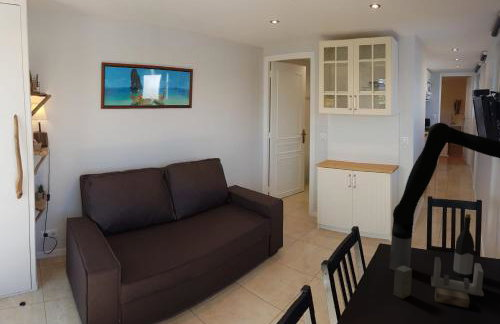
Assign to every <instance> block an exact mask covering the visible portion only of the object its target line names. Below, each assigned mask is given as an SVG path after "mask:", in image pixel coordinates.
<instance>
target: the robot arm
mask: <svg viewBox="0 0 500 324" xmlns="http://www.w3.org/2000/svg"><path fill="white" fill-rule="evenodd" d="M447 143H448V144H452V145H457V146H460V147H464V148H466V149H469V150H471V151H475V152H476V153H478V154H483V155H486V156H490V157H493V158H498V159H500V140H496V139H492V138H489V137H485V136H480V135H478V134H477V135H476V134H472V133H467V132H465V131H461V130H459V129H456V128H453V127H451V126H450V125H448V124H447V123H444V122H437V123H434V124H433V125H431V126H430V127H429V130H428V133H427V136H426V141H425V143H424V146H423V148H422V151H421V152H420V154H419V155H418V156H417V159H416V161H415V162H414V164H413V165H412V168H411V171H410V172H409V176H407V180H406V184H405V187H404V191H403V193H402V197H401V199H400V200H399V202H398V204H397V205H396V206H395V207H394V209H393V211H392V217H393V218H392V220H393V221H392V228H391V229H392V230H391V242H390V243H391V244H390V252H389V268H388V269H389V270H392V271H393V272H395V268H398V267H400V266H403V265H404V266H406V267H409V268H411V256H412V255H411V254H412V242H413V241H412V240H413V232H414V218H415V212H416V209H417V206H418V203H419V202H420V200H421V198H422V196H424V195H423V194H424V193H425V192H426V190H427V187H428V186H429V183H430V182H431V180H432V178H433V175H434V173H435V170H436V168H437V163H438V160H439V158H440V155H441V153H442V151H443V150H444V148H445V146H446V145H447Z"/></svg>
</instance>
